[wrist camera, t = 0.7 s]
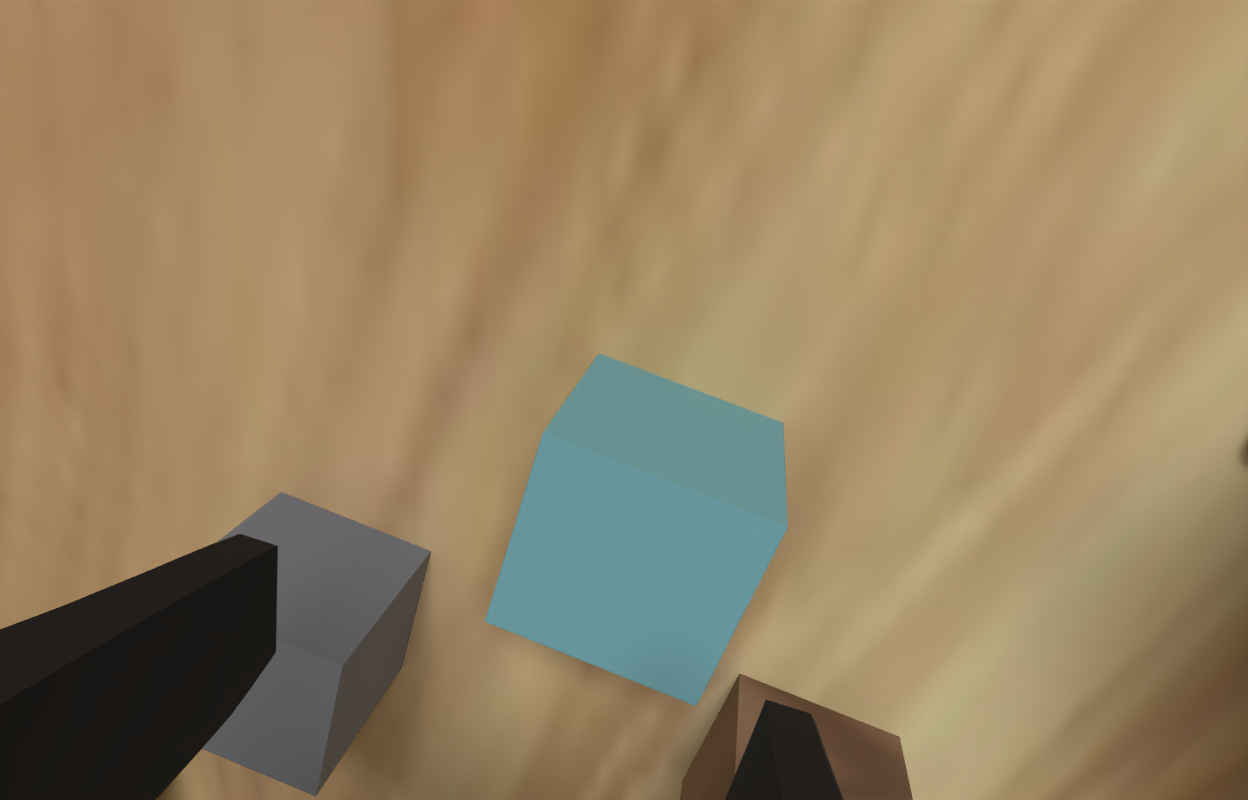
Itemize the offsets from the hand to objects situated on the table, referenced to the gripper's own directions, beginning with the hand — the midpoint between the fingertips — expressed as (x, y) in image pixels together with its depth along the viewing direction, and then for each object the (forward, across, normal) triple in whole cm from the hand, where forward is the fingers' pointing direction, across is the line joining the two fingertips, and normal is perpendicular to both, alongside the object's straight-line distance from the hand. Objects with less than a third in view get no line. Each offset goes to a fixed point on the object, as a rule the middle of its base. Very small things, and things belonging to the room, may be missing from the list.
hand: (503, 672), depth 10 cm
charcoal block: (+10, +8, +8) cm, 15 cm away
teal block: (+10, -1, +1) cm, 10 cm away
